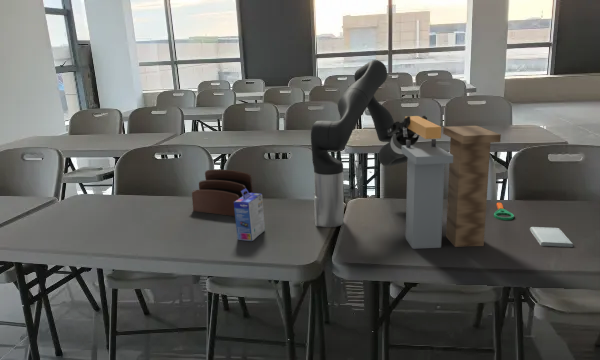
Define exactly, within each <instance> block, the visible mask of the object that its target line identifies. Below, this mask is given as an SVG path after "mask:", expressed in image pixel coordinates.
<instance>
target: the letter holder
mask: <svg viewBox="0 0 600 360" xmlns="http://www.w3.org/2000/svg"><path fill="white" fill-rule="evenodd" d="M204 175H205V176H204V177H205V179H204V180H199V182H198V189H195V190H193V191H192V192H191V197H192V210H193V211H192V212H197V213H204V214H206V213H207V214H213V215H223V216H229V217H235V210H234V202H235V201H236V200H238V199H239V198H241V197H242V196H243V195H242V193H241V191H242V190H244V189H245V188H246V189H247V190H248V192H249V193H254V192H253V182H252V181H253V179H252V178H253V177H252V176H251V175H252V174H250V173H248V172H244V171H239V170H232V169H207V170H205V171H204ZM245 194H247V192H246V191H245V192H244V195H245Z"/></svg>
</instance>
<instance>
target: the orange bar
mask: <svg viewBox="0 0 600 360" xmlns="http://www.w3.org/2000/svg"><path fill="white" fill-rule="evenodd" d="M407 116H408V115H407ZM407 116H404V119H405V118H407ZM409 116H410V124H409V126H408V129H410V130H412V131H413V132H415V133H417V134H418V135H420V136H419V137H421V138H423V139H424V140H429V139H431V140H432V139H436V140H437V139H441V138H442V126H441V125H438V124H436V123H434V122H432V121H430V120H429V121H428V119H427V120H426V119H423V118H422V116H419V115H413V116H412V115H409Z"/></svg>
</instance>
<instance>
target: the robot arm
mask: <svg viewBox="0 0 600 360" xmlns="http://www.w3.org/2000/svg"><path fill="white" fill-rule="evenodd" d="M353 76H354V82H353V83H352V84H351V85H350V86H348V88H347V89H346V90H345V91H344V92H343V93H342V95H341V96H340V98H339V100H338V102H337V111H338V114H339V116H340V117H341V119H339V120H316V121H315V122H314V123H313V124H312V127H311V130H310V144H311V158H312V164H313V166H312V167H313V175H314V176H313V179H314V183H313V184H314V193H313V198H314V199H313V200H314V201H313V203H314V223H315V227H322V228H323V227H324V228H337V227H340V226H342V225H343V224H344V218H345V215H344V214H345V213H344V211H345V210H344V164H343V162H342V161H341V160H339V159H337V158H336V157H333V156H332V155H331V154H330V152H340V151H342V150H344V149H345V148H346V147H347V144H348V143H349V140H350V138H351V136H352V133H353V131H354V129H355V126H356V125H357V123H358V122H359V120H360V119H361V117H362V115H363V114H364V112H365V111H366V109H367V110H368V112H369V114H370V117H371V119H372V122H373V126H374V128H375V133H376V135H377V139H378V140H379V142H381V143H382V142H383V143H386V144H384V145H383V146H381V148H380V150H379V152H378V160H379V163H380V164H381V165H382V166H384V167H387V168H389V167H392V166H398V165H400V164H402V165H403V164H405V163H407V160H408V157H406V156H405V155H404V154H403V153H402V152H401V150H402V146H404V145H406V140H411V145H417V144H416V143H417V142H418V141H419V138H420V137H421V136H420V135H418V134H417V133H415V132H413V131H412V130H410V129H408V126H409V124H410V116H411V115H409V116H408V115H407V118H405V117H404V119H403V120H402V121H401V122H400V121H394V118H393V115H392V114H391V112H390V111H389V110H388V109H387V108H386V107H385V106H383V105H382V103H380V102H379V101H378V100H377V99H376V97H375V94H376V93H377V91H378V89H379V88H380V87H381V86H382V85H383V84H384V83H385V82H386V80H387V78H388V70H387V66H386V65H385V64H384V63H383V62H382V61H380V60H377V59H374V60H373V59H372V60H370V61H368V62H367V63H366V64H364V65H362V66H361V67H360V68H358V69H357V70H355V72H354V75H353ZM421 118H423V119H426V120H428V117H426V115H422V116H421ZM428 121H430V120H428ZM329 151H330V152H329Z"/></svg>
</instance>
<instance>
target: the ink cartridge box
mask: <svg viewBox="0 0 600 360" xmlns="http://www.w3.org/2000/svg"><path fill="white" fill-rule="evenodd" d="M245 191H246V192H247V194H245V195H244V192H245ZM241 193H242V195H243V196H242V197H241V198H239V199H238V200H236V201H235V202H234V210H235V216H234V218H235V228H236V238H237V241H238V240H239V241H247V242H252V241H255V239H257V238H258V237H259V235H261V234H262V233H263V232H265V231H266V229H265V227H266V226H265V216H264V214H265V213H264V203H263V202H264V200H263V193H257V192H253V193H249V192H248V190H247V189H246V188H245V189H244V190H242V191H241Z"/></svg>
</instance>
